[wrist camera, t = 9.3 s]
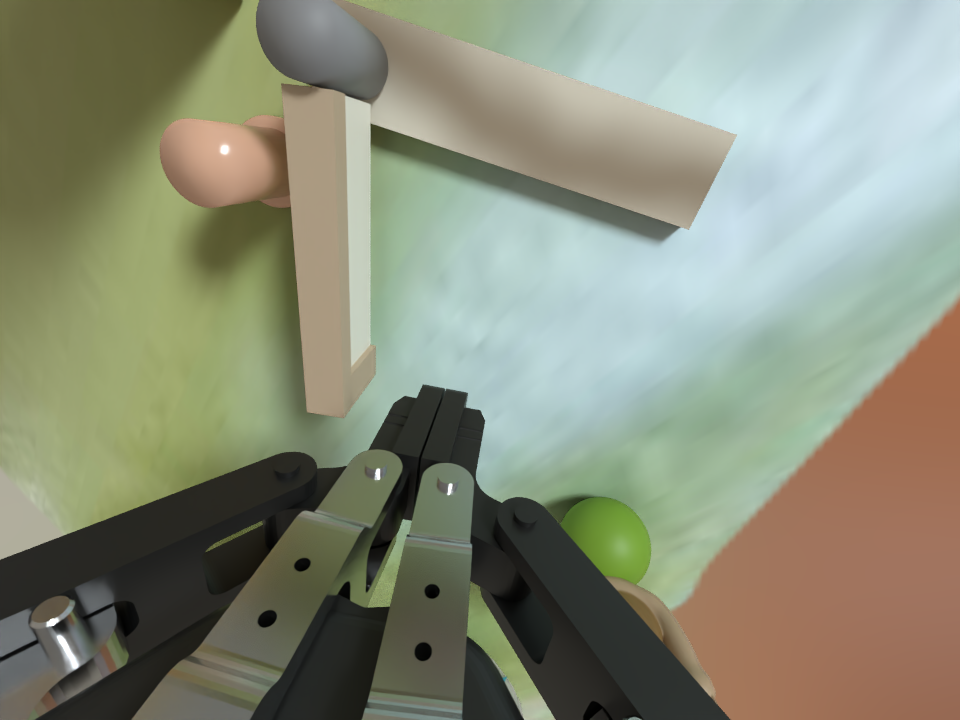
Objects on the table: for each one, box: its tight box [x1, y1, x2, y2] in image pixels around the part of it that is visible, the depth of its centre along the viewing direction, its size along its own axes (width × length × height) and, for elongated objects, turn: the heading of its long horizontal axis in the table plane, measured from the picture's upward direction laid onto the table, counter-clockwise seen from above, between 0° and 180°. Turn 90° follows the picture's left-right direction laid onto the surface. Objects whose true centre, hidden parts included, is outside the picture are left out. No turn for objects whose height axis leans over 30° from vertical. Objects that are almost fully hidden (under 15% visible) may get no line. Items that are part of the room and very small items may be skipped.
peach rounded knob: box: [160, 115, 291, 208], centre depth 18 cm, size 4×4×6 cm
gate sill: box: [312, 0, 737, 230], centre depth 19 cm, size 4×18×1 cm, turn 73°
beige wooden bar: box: [256, 0, 388, 418], centre depth 18 cm, size 16×3×5 cm, turn 173°
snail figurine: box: [561, 497, 718, 705], centre depth 23 cm, size 5×6×12 cm
